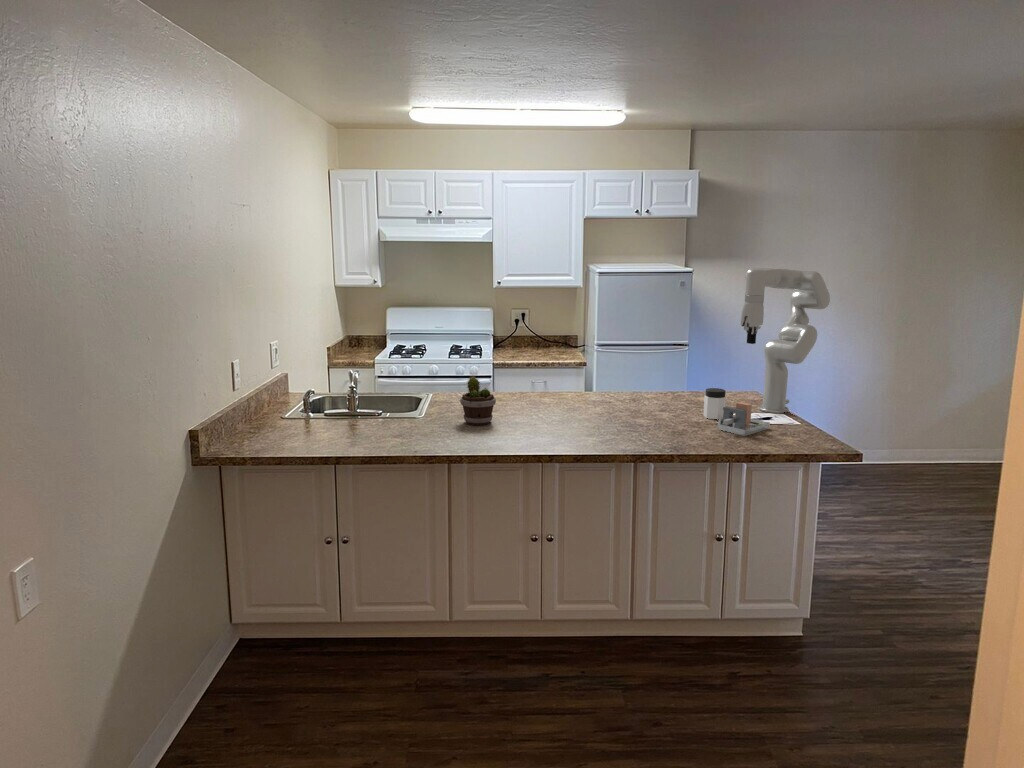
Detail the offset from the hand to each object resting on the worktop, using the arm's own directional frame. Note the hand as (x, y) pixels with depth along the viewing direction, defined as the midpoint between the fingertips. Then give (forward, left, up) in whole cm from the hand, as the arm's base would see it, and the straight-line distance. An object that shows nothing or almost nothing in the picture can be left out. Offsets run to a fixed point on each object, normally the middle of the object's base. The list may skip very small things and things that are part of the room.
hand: (751, 343), depth 302 cm
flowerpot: (+94, -65, -32) cm, 119 cm away
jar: (+10, -9, -32) cm, 35 cm away
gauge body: (+17, +10, -32) cm, 38 cm away
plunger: (+23, +12, -29) cm, 39 cm away
